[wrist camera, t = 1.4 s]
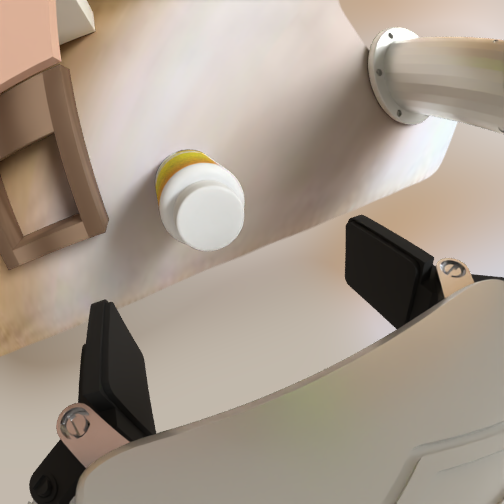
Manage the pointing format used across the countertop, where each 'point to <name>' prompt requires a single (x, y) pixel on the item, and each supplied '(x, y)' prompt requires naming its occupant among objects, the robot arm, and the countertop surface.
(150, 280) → the countertop surface
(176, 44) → the countertop surface
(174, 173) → the supplement bottle
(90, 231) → the socket block
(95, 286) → the countertop surface
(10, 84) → the pink-topped white panel
